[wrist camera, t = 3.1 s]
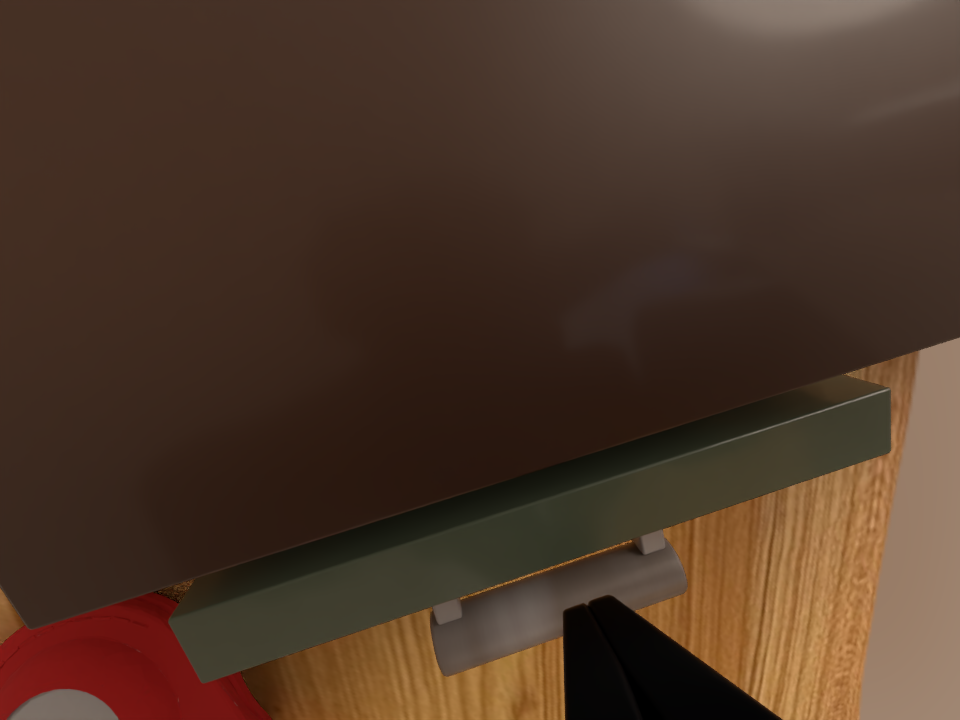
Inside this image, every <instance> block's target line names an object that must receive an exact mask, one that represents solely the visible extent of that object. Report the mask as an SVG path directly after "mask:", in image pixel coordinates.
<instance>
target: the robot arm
mask: <svg viewBox="0 0 960 720" xmlns="http://www.w3.org/2000/svg"><path fill="white" fill-rule="evenodd" d="M563 649H564V692H565V720H782V719H781V718H780V717H778V716H777V715H776V714H774V713H773V712H771V711H770V710H769V709H767V708H766V707H765V706H763V705H762V704H760V703H759V702H758V701H756V700H755V699H754V698H752V697H751V696H749V695H748V694H747V693H745V692H744V691H743V690H741V689H740V688H739V687H737V686H736V685H734V684H733V683H732V682H730V681H729V680H728V679H726V678H725V677H723V676H722V675H721V674H719V673H718V672H717V671H715V670H714V669H712V668H711V667H710V666H708V665H707V664H706V663H704V662H703V661H701V660H700V659H699V658H697V657H696V656H695V655H693V654H692V653H691V652H689V651H688V650H686V649H685V648H684V647H682V646H681V645H680V644H678V643H677V642H675V641H674V640H673V639H671V638H670V637H669V636H667V635H666V634H664V633H663V632H662V631H660V630H659V629H658V628H656V627H655V626H653V625H652V624H651V623H649V622H648V621H647V620H645V619H644V618H643V617H641V616H640V615H638V614H637V613H636V612H634V611H633V610H632V609H630V608H629V607H627V606H626V605H625V604H623V603H622V602H621V601H619V600H618V599H616V598H615V597H614V596H612V595H604V596H602V597H599V598H596V599H593V600H590V601H589V602H588V605H586V604H585V603H581V604H578V605H575V606H573V607H570V608H567V609H565V610H564V611H563Z"/></svg>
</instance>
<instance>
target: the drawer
mask: <svg viewBox="0 0 960 720" xmlns="http://www.w3.org/2000/svg"><path fill="white" fill-rule="evenodd" d="M890 451H891V390H890V388H888V387H885V386H881V385H878V384H874V383H870V382H867V381H863V380H859V379H856V378H852V377H849V376H845V375H839V376H836V377H833V378H829V379H826V380H823V381H820V382H817V383H814V384H810V385H807V386H804V387H801V388H798V389H795V390H791V391H788V392H785V393H782V394H779V395H776V396H772V397H769V398H766V399H763V400H760V401H757V402H753V403H750V404H747V405H744V406H741V407H738V408H734V409H731V410H728V411H725V412H722V413H719V414H715V415H712V416H709V417H706V418H703V419H700V420H696V421H693V422H690V423H687V424H684V425H681V426H677V427H674V428H671V429H668V430H665V431H662V432H658V433H655V434H652V435H649V436H646V437H642V438H639V439H636V440H633V441H630V442H627V443H623V444H620V445H617V446H614V447H611V448H608V449H604V450H601V451H598V452H595V453H592V454H589V455H585V456H582V457H579V458H576V459H573V460H570V461H566V462H563V463H560V464H557V465H554V466H551V467H547V468H544V469H541V470H538V471H535V472H532V473H528V474H525V475H522V476H519V477H516V478H513V479H509V480H506V481H503V482H500V483H497V484H494V485H490V486H487V487H484V488H481V489H478V490H474V491H471V492H468V493H465V494H462V495H459V496H455V497H452V498H449V499H446V500H443V501H440V502H436V503H433V504H430V505H427V506H424V507H421V508H417V509H414V510H411V511H408V512H405V513H402V514H398V515H395V516H392V517H389V518H386V519H383V520H379V521H376V522H373V523H370V524H367V525H364V526H360V527H357V528H354V529H351V530H348V531H345V532H341V533H338V534H335V535H332V536H329V537H326V538H322V539H319V540H316V541H313V542H310V543H306V544H303V545H300V546H297V547H294V548H291V549H287V550H284V551H281V552H278V553H275V554H272V555H268V556H265V557H262V558H259V559H256V560H253V561H249V562H246V563H243V564H240V565H237V566H234V567H230V568H227V569H224V570H221V571H218V572H215V573H211V574H208V575H205V576H202V577H199V578H196V579H195V580H194V582H193V583H192V585H191V586H190V588H189V589H188V591H187V592H186V594H185V595H184V597H183V598H182V600H181V601H180V603H179V604H178V606H177V607H176V609H175V610H174V612H173V613H172V615H171V616H170V618H169V620H168V623H169V625H170V627H171V629H172V630H173V632H174V634H175V636H176V638H177V640H178V641H179V643H180V645H181V647H182V649H183V650H184V652H185V654H186V656H187V658H188V659H189V661H190V663H191V665H192V667H193V668H194V670H195V672H196V674H197V676H198V678H199V679H200V681H201V683H207V682H210V681H213V680H216V679H219V678H222V677H225V676H228V675H231V674H234V673H237V672H240V671H243V670H246V669H249V668H252V667H255V666H258V665H261V664H264V663H267V662H270V661H273V660H276V659H279V658H282V657H285V656H288V655H291V654H294V653H297V652H299V651H302V650H305V649H308V648H311V647H314V646H317V645H320V644H323V643H326V642H329V641H332V640H335V639H338V638H341V637H344V636H347V635H350V634H353V633H356V632H359V631H362V630H365V629H368V628H371V627H374V626H377V625H380V624H383V623H386V622H389V621H392V620H394V619H397V618H400V617H403V616H406V615H409V614H412V613H415V612H418V611H421V610H424V609H427V608H430V607H432V609H433V610H432V611H431V614H430V628H431V635H432V641H433V646H434V651H435V655H436V659H437V662H438V665H439V668H440V670H441V672H442V674H443V675H444V676H446V677H449V676H452V675H454V674H457V673H460V672H463V671H466V670H469V669H471V668H474V667H477V666H480V665H483V664H486V663H488V662H491V661H494V660H497V659H500V658H503V657H505V656H508V655H511V654H514V653H517V652H520V651H522V650H525V649H528V648H531V647H534V646H537V645H539V644H542V643H545V642H548V641H551V640H554V639H557V638H559V637H562V636H563V611H564V610H565V609H567V608H570V607H573V606H575V605H578V604H581V603H585V604H586V605H588V602H589V601H590V600H593V599H596V598H599V597H602V596H604V595H612V596H614V597H615V598H616V599H618V600H619V601H621V602H622V603H623V604H625V605H626V606H627V607H629V608H630V609H632V610H633V611H636V610H639V609H642V608H644V607H647V606H650V605H653V604H656V603H659V602H661V601H664V600H667V599H670V598H673V597H676V596H678V595H681V594H684V593H685V592H686V590H687V579H686V575H685V572H684V569H683V566H682V564H681V561H680V559H679V557H678V555H677V553H676V552H675V550H674V549H673V547H672V546H671V544H670V543H669V542H668V541H667V539H666V538H664V534H663V529H665V528H668V527H671V526H673V525H676V524H679V523H682V522H685V521H688V520H691V519H694V518H697V517H700V516H703V515H706V514H709V513H712V512H715V511H718V510H721V509H724V508H727V507H730V506H733V505H736V504H739V503H742V502H745V501H748V500H751V499H754V498H757V497H760V496H763V495H766V494H768V493H771V492H774V491H777V490H780V489H783V488H786V487H789V486H792V485H795V484H798V483H801V482H804V481H807V480H810V479H813V478H816V477H819V476H822V475H825V474H828V473H831V472H834V471H837V470H840V469H843V468H846V467H849V466H852V465H855V464H858V463H860V462H863V461H866V460H869V459H872V458H875V457H878V456H881V455H884V454H887V453H889V452H890ZM629 540H632V541H633V542H631V543H628V544H625V545H622V546H619V547H616V548H613V549H610V550H607V551H604V552H601V553H598V554H595V555H592V556H589V557H586V558H583V559H580V560H577V561H574V562H571V563H568V564H565V565H562V566H560V567H557V568H554V569H551V570H548V571H545V572H542V573H539V574H536V575H533V576H530V577H527V578H524V579H521V580H518V581H515V582H512V583H509V584H506V585H503V586H500V587H497V588H494V589H491V590H488V591H485V592H482V593H480V594H477V595H474V596H471V597H468V598H465V599H462V600H460V597H463V596H466V595H469V594H472V593H475V592H478V591H481V590H484V589H486V588H489V587H492V586H495V585H498V584H501V583H504V582H507V581H510V580H513V579H516V578H519V577H522V576H525V575H528V574H531V573H534V572H537V571H540V570H543V569H546V568H549V567H552V566H555V565H558V564H561V563H564V562H567V561H570V560H573V559H576V558H579V557H581V556H584V555H587V554H590V553H593V552H596V551H599V550H602V549H605V548H608V547H611V546H614V545H617V544H620V543H623V542H626V541H629Z"/></svg>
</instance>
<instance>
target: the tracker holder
mask: <svg viewBox="0 0 960 720" xmlns="http://www.w3.org/2000/svg"><path fill="white" fill-rule="evenodd" d="M178 604H179V603H177V602H175V601H173V600H171V599H169V598H167V597H165V596H162V595H159V594H156V593H153V592H151V593H148V594H145V595H142V596H139V597H135V598H132V599H129V600H126V601H123V602H119V603H116V604H113V605H110V606H107V607H104V608H100V609H97V610H94V611H91V612H88V613H85V614H81V615H78V616H75V617H72V618H69V619H66V620H62V621H59V622H56V623H53V624H50V625H47V626H43V627H40V628H37V629H34V630H30V629H28V628H27V627H26V625H25V626H23V627H22V628H20V629H19V630H17V631H16V632H15V633H14V634H13V635H11V636H10V637H9V638H8V639H7V640H6V641H5V642H4V643H3V644H2V645H1V646H0V720H272V719H271V717H270V716H269V715H268V714H267V712H266V711H265V710H264V709H263V708H262V707H261V706H260V705H259V704H258V702H257V701H256V700H255V698H254V697H253V695H252V694H251V693H250V691H249V689H248V687H247V686H246V684H245V682H244V680H243V678H242V675H241V673H240V672H237V673H234V674H231V675H228V676H225V677H222V678H219V679H216V680H213V681H210V682H207V683H201V681H200V679H199V678H198V676H197V674H196V672H195V670H194V668H193V667H192V665H191V663H190V661H189V659H188V658H187V656H186V654H185V652H184V650H183V649H182V647H181V645H180V643H179V641H178V640H177V638H176V636H175V634H174V632H173V630H172V629H171V627H170V625H169V623H168V620H169V618H170V616H171V615H172V613H173V612H174V610H175V609H176V607H177V606H178Z"/></svg>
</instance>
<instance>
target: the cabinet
mask: <svg viewBox="0 0 960 720" xmlns="http://www.w3.org/2000/svg"><path fill="white" fill-rule="evenodd" d="M959 337H960V0H0V588H1V589H2V591H3V592H4V594H5V595H6V597H7V598H8V600H9V601H10V603H11V604H12V606H13V607H14V609H15V610H16V612H17V613H18V615H19V616H20V618H21V619H22V621H23V622H24V624H25V625H26V627H27V628H28V629H30V630H34V629H37V628H40V627H43V626H47V625H50V624H53V623H56V622H59V621H62V620H66V619H69V618H72V617H75V616H78V615H81V614H85V613H88V612H91V611H94V610H97V609H100V608H104V607H107V606H110V605H113V604H116V603H119V602H123V601H126V600H129V599H132V598H135V597H139V596H142V595H145V594H148V593H151V592H154V591H158V590H161V589H164V588H167V587H170V586H173V585H177V584H180V583H183V582H186V581H189V580H192V579H196V578H199V577H202V576H205V575H208V574H211V573H215V572H218V571H221V570H224V569H227V568H230V567H234V566H237V565H240V564H243V563H246V562H249V561H253V560H256V559H259V558H262V557H265V556H268V555H272V554H275V553H278V552H281V551H284V550H287V549H291V548H294V547H297V546H300V545H303V544H306V543H310V542H313V541H316V540H319V539H322V538H326V537H329V536H332V535H335V534H338V533H341V532H345V531H348V530H351V529H354V528H357V527H360V526H364V525H367V524H370V523H373V522H376V521H379V520H383V519H386V518H389V517H392V516H395V515H398V514H402V513H405V512H408V511H411V510H414V509H417V508H421V507H424V506H427V505H430V504H433V503H436V502H440V501H443V500H446V499H449V498H452V497H455V496H459V495H462V494H465V493H468V492H471V491H474V490H478V489H481V488H484V487H487V486H490V485H494V484H497V483H500V482H503V481H506V480H509V479H513V478H516V477H519V476H522V475H525V474H528V473H532V472H535V471H538V470H541V469H544V468H547V467H551V466H554V465H557V464H560V463H563V462H566V461H570V460H573V459H576V458H579V457H582V456H585V455H589V454H592V453H595V452H598V451H601V450H604V449H608V448H611V447H614V446H617V445H620V444H623V443H627V442H630V441H633V440H636V439H639V438H642V437H646V436H649V435H652V434H655V433H658V432H662V431H665V430H668V429H671V428H674V427H677V426H681V425H684V424H687V423H690V422H693V421H696V420H700V419H703V418H706V417H709V416H712V415H715V414H719V413H722V412H725V411H728V410H731V409H734V408H738V407H741V406H744V405H747V404H750V403H753V402H757V401H760V400H763V399H766V398H769V397H772V396H776V395H779V394H782V393H785V392H788V391H791V390H795V389H798V388H801V387H804V386H807V385H810V384H814V383H817V382H820V381H823V380H826V379H829V378H833V377H836V376H839V375H842V374H845V373H849V372H852V371H855V370H858V369H861V368H864V367H868V366H871V365H874V364H877V363H880V362H883V361H887V360H890V359H893V358H896V357H899V356H902V355H906V354H909V353H912V352H915V351H918V350H921V349H924V348H928V347H931V346H934V345H937V344H940V343H943V342H946V341H950V340H953V339H956V338H959Z"/></svg>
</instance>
